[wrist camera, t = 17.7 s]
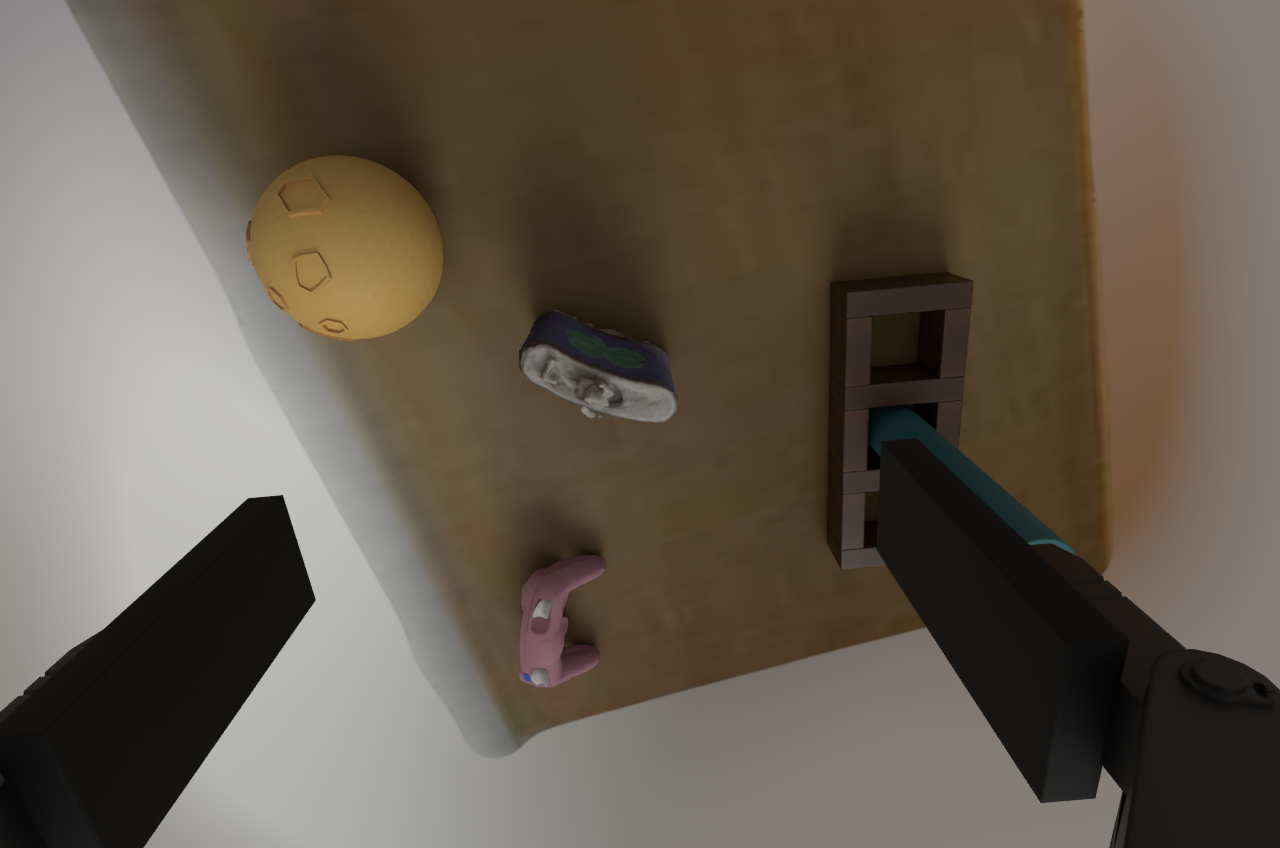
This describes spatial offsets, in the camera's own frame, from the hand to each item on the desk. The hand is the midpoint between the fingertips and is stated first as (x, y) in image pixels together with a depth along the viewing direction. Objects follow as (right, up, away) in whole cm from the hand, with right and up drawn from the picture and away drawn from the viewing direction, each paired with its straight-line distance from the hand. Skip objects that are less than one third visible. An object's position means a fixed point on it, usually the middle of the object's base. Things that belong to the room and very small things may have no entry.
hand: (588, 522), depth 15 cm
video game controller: (-5, -12, +38) cm, 40 cm away
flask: (-1, +7, +30) cm, 31 cm away
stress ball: (-15, +14, +27) cm, 34 cm away
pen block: (+18, +3, +32) cm, 37 cm away
